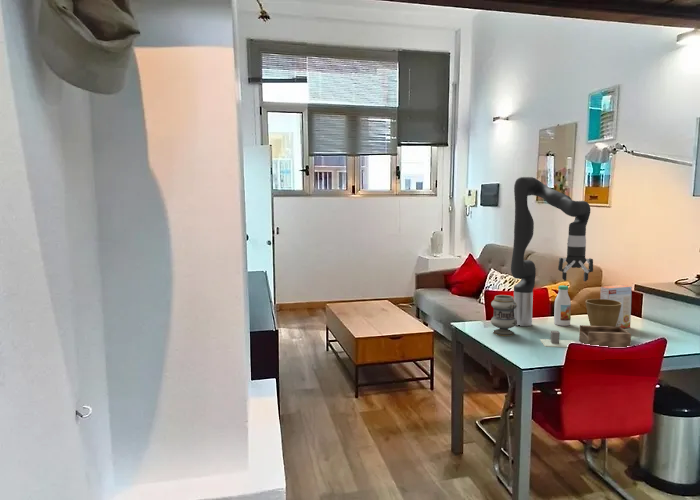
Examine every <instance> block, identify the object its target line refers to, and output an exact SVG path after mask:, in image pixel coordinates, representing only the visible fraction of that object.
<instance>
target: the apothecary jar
mask: <svg viewBox="0 0 700 500" xmlns="http://www.w3.org/2000/svg"><path fill="white" fill-rule="evenodd" d="M490 305H491V307H492V308H493V316H492V317H491V319H490V323H491V325H492V326H494V328H497V329H494V330H493V331H494V332H493V331H492V334H495V335H496V334H497V335H496V336H502V337H511V336H514V335H515V332H514V331H513V330H511V329H512V328H515V327H516V326H518V325H517V320H516V319H515V318H514V309H515V308H516V307H517V303H516V302H515V301H514V295H507V294H498V295H495V296H494V299H493V300H492V301H491V302H490Z"/></svg>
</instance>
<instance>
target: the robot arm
mask: <svg viewBox="0 0 700 500" xmlns="http://www.w3.org/2000/svg"><path fill="white" fill-rule="evenodd" d="M513 189H514V190H513V192H514V226H513V227H514V230H513V247H512V248H513V249H512V255H511V256H512V257H511V262H510V263H511V264H510V273H511V276H512V277H513V278H514V279H517V280H519V279H520V281H519V282H518V283H517V284H515V285H514V286H513V299H514V301H515V302H516V303H517V307H516V308H515V309H514V318H515V319H516V320H517V325H516V326H518V325H520V326H519V327H530V326H532V325H533V304H534V303H533V301H534V299H533V298H534V297H533V296H534V287H535V284H536V276H537V275H536V271H537V270H536V269H537V268H536V265H535V263H534V262H533V260H531V259H525V252H526V249H527V248H528V246H529V244H530V243H531V240H532V239H533V236H534V229H535V228H534V226H535V225H534V224H535V222H534V219H533V216H532V213H531V211H530V209H529V205H528V196H535V197H539V198H542V199H543V200H544V201H545V202H547V204H549V205H550V206H552V207H554V208H556V209H559V210H560V211H562V213H564V214H565V215H567V216H569V217H572V218H574V221H572V222H571V223H569V224H568V237H567V243H566V244H567V249H566V257H565V258H564V257H559V259H558V268H557V271H560V272H562V273H561V274H562V275H561V278H562V280H563V281H564V282H565V281H567V272H568V270H569V269H571V268H572V269H575V268H578V269H579V268H581V269H582V270H583V281H584V282H587V281H588V280H589V274H590V273H593V272H594V259H593V258H591V257H589V258H586V248H587V237H586V235H587V234H586V233H587V225H588V221H589V219H590V214H591V206H590V204H589V203H588V201H584V200H573V199H572V198H571V197H570V196H569V195H567V194H566V193H562V192H560V191H558V190H556V189H553V188H551V187H549V186H548V185H546V184H544V183H543V182H542V181H540V180H539V179H537V178H535V177H533V176H520V177H518V178H517V179H516V180H515V182H514V187H513ZM565 262H566V263H567V264H566V265H565V266H564V268H563V265H564V263H565ZM586 263H587V264H588V268H587V267H586V266H585V264H586Z"/></svg>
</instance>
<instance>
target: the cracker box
mask: <svg viewBox="0 0 700 500" xmlns="http://www.w3.org/2000/svg"><path fill="white" fill-rule="evenodd" d="M599 292H600V296H599V299H608V300H615V301H619V302H621V303H622V304H621V309H620V314H619V318H618V321H617V324H616V326H617V327H621V328H623V329H627V328H629V329H630V328H631V322H632V321H631V320H632V319H631V315H632V314H631V313H632V292H633V291H632V286H629V285H624V284H620V285H619V284H617V285H607V286H606V285H605V286H600V291H599Z"/></svg>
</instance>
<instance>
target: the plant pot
mask: <svg viewBox="0 0 700 500" xmlns="http://www.w3.org/2000/svg"><path fill="white" fill-rule="evenodd" d="M621 304H622V303H621V302H619V301H615V300H608V299H600V298H591V299H590V298H589V299H586V300H585V307H586V312H587V313H586V314H587V319H588V321H589V326H616V324H617V321H618V318H619V314H620V309H621Z"/></svg>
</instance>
